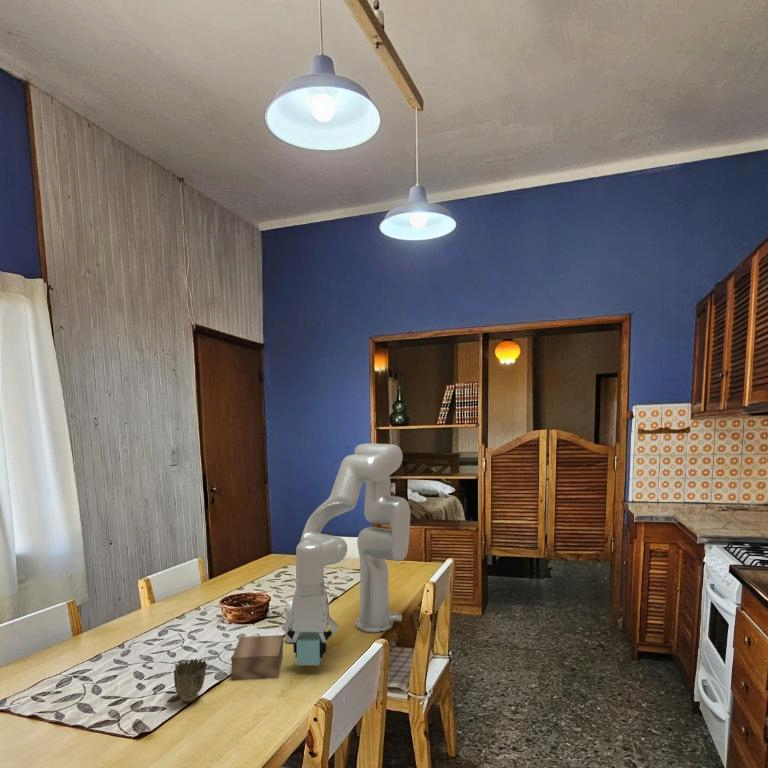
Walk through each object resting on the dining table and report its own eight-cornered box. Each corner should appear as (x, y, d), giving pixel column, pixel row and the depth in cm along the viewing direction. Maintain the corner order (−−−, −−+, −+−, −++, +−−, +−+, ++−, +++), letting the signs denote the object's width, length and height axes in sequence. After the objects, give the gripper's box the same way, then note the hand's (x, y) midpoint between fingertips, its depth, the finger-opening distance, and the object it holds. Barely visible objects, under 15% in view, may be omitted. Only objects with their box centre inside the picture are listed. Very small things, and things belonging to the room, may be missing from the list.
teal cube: (322, 653, 132) (322, 631, 133) (318, 665, 126) (318, 642, 127) (301, 653, 133) (301, 631, 133) (296, 665, 127) (296, 642, 127)
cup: (178, 692, 118) (179, 658, 119) (209, 690, 119) (210, 657, 119) (167, 710, 111) (168, 674, 111) (199, 708, 111) (201, 673, 112)
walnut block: (282, 656, 137) (283, 635, 137) (278, 679, 125) (278, 655, 125) (239, 658, 135) (240, 636, 136) (231, 681, 124) (231, 657, 124)
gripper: (342, 583, 134) (343, 648, 133) (282, 582, 135) (282, 648, 134) (339, 593, 126) (339, 663, 125) (275, 593, 127) (275, 662, 126)
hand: (310, 654), depth 130 cm, fingers closed on teal cube, 6 cm apart
